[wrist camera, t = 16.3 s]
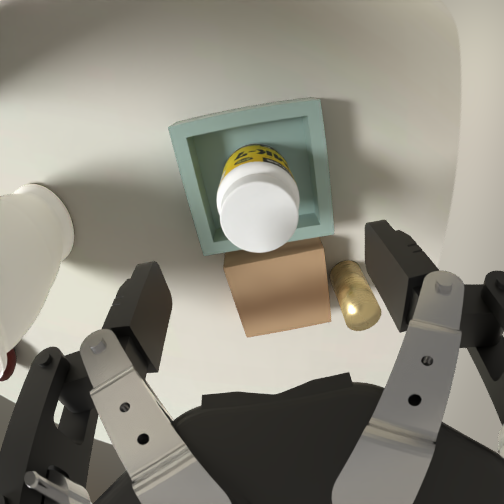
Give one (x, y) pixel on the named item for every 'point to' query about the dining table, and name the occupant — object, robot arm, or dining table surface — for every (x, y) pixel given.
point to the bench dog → (354, 296)
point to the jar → (29, 258)
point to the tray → (247, 132)
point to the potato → (9, 365)
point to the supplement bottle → (258, 199)
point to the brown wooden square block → (279, 287)
